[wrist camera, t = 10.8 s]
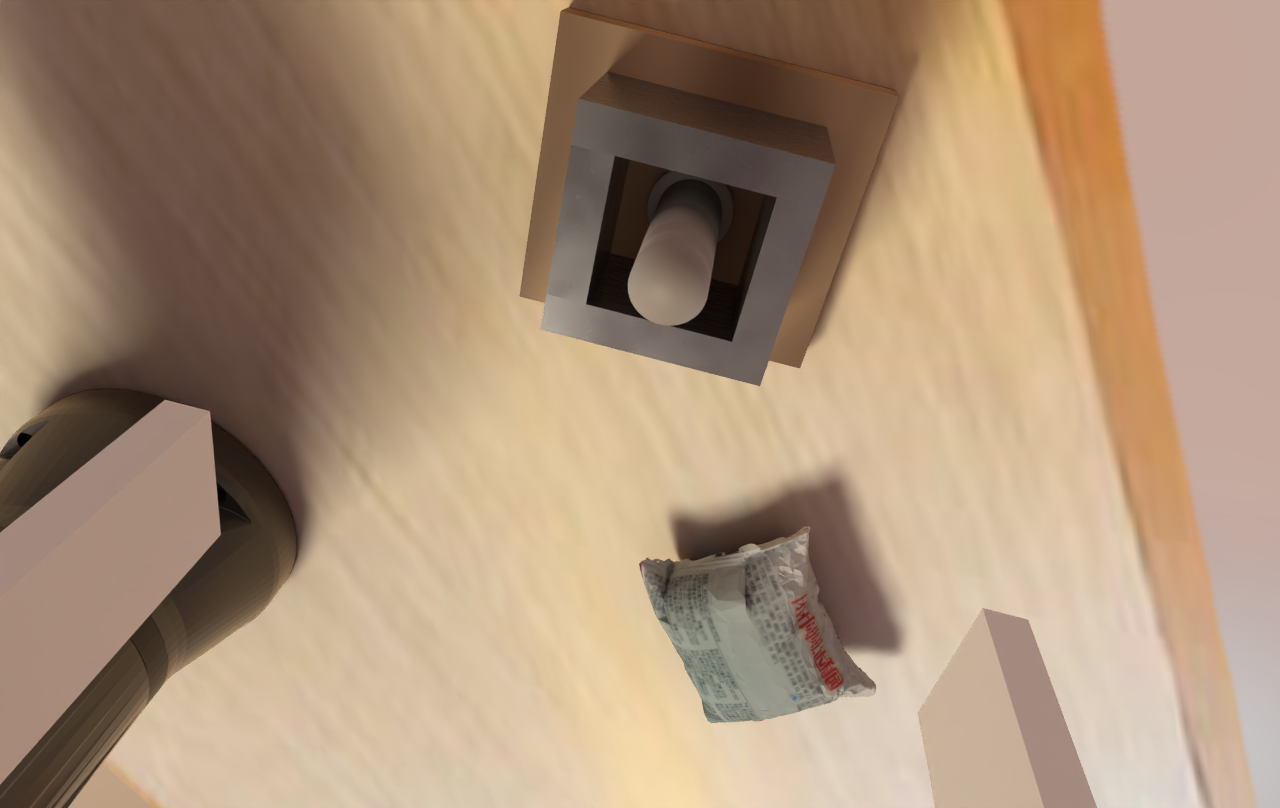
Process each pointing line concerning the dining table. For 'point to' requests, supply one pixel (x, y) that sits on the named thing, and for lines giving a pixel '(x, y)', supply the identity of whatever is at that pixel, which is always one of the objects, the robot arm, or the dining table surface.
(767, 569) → the packaged food
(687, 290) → the stand
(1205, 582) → the dining table surface
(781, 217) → the link
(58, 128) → the dining table surface
